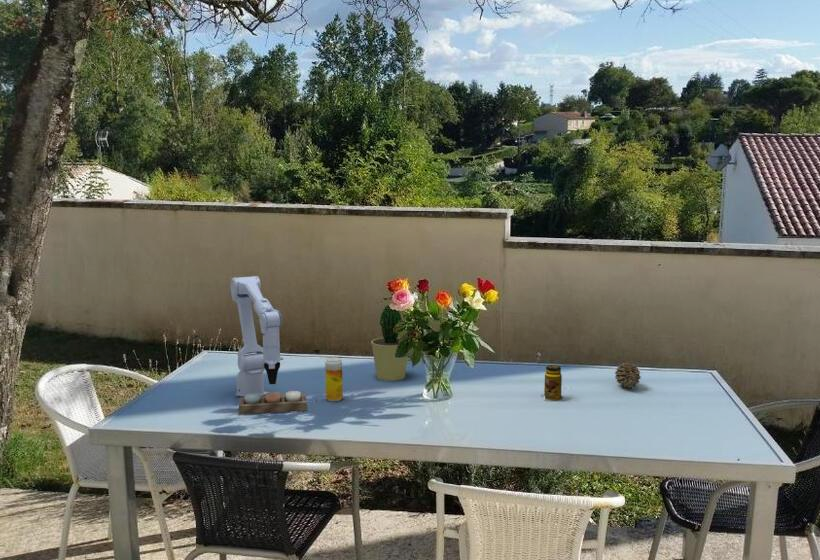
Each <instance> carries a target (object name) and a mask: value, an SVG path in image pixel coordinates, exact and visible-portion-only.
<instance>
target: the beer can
mask: <svg viewBox="0 0 820 560" xmlns="http://www.w3.org/2000/svg"><path fill="white" fill-rule="evenodd" d="M324 363H325V398H326V399H327V401H328V402H333V403H334V402H341V401H342V399H343V395H344V394H343V392H344V391H343V390H344V389H343V388H344V387H343V386H344V385H343V384H344V383H343V360H342V358H340V357H327V358H326V360H325V362H324Z"/></svg>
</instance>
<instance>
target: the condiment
mask: <svg viewBox="0 0 820 560" xmlns="http://www.w3.org/2000/svg"><path fill="white" fill-rule="evenodd" d="M561 370H562V367H561V366H560V365H557V364H550V365H549V364H548V365H546V367H545V373H544V393H541V394H540V395H541V398H543V396H545V400H544V401H545V402H557V401H558V402H560V401H561V402H562V401H565V398H564V397H563V396H562V380H563V379H562V378H563V375H562V373H561V372H562V371H561ZM542 394H543V395H542Z"/></svg>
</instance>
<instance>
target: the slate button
mask: <svg viewBox="0 0 820 560" xmlns="http://www.w3.org/2000/svg"><path fill="white" fill-rule="evenodd" d="M256 403H260V394H258V393H250V394H246V395H245V404H256Z"/></svg>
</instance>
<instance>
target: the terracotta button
mask: <svg viewBox="0 0 820 560" xmlns="http://www.w3.org/2000/svg"><path fill="white" fill-rule="evenodd" d="M280 395H281V393H280V392H277V391H270V392H269V393H266V394H265V395H264V396H265V401H266V403H274V402H281V397H280Z"/></svg>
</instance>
